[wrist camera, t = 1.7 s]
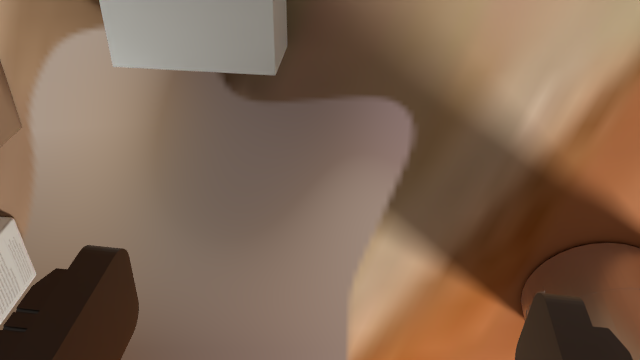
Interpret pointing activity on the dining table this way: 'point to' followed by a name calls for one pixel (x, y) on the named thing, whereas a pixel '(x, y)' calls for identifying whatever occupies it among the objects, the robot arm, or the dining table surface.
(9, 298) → the small box
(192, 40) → the block
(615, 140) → the dining table surface
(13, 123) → the brown long bar
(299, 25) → the dining table surface
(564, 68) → the dining table surface
